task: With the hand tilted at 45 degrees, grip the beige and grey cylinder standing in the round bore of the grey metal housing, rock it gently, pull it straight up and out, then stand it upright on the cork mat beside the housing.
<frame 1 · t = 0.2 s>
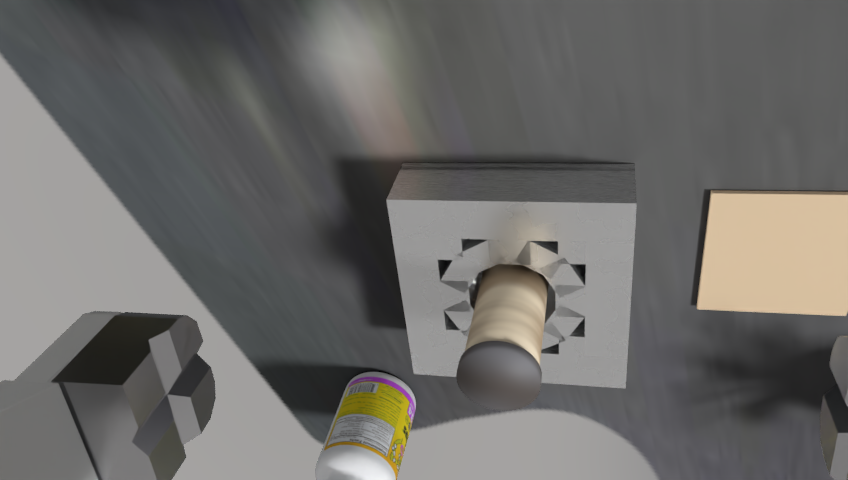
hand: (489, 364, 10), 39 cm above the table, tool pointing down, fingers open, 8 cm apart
cork mat: (779, 253, 52), on the table
supplement bottle: (382, 392, 69), on the table
beige and grey cylinder: (517, 264, 56), point 1 cm above the table, touching bore housing
bore housing: (519, 256, 57), on the table
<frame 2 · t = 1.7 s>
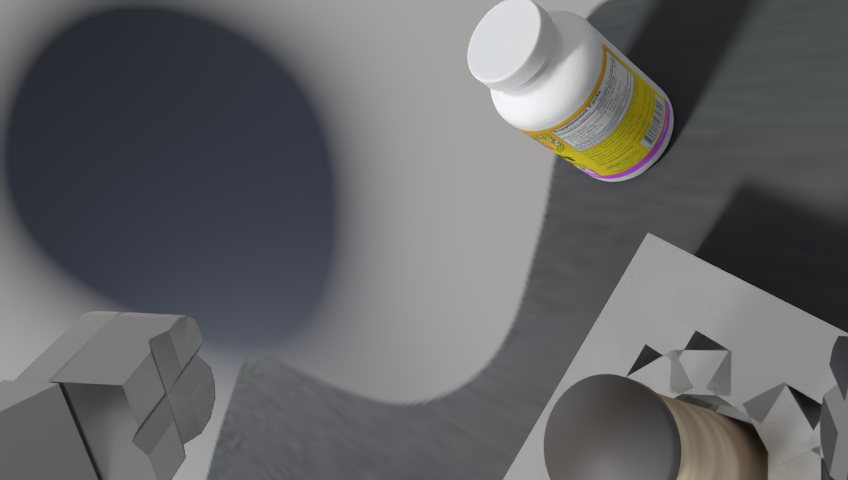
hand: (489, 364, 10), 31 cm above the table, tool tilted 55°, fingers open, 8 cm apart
supplement bottle: (628, 136, 47), on the table
beige and grey cylinder: (732, 470, 36), point 1 cm above the table, touching bore housing
bore housing: (740, 472, 36), on the table
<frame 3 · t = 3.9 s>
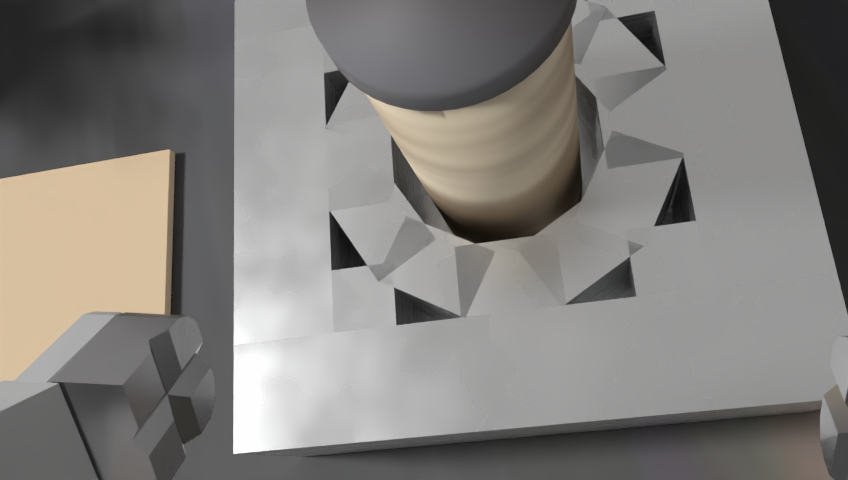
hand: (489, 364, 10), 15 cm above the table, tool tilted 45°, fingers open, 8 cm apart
cork mat: (54, 291, 29), on the table
beige and grey cylinder: (509, 188, 25), point 1 cm above the table, touching bore housing
bore housing: (512, 198, 26), on the table
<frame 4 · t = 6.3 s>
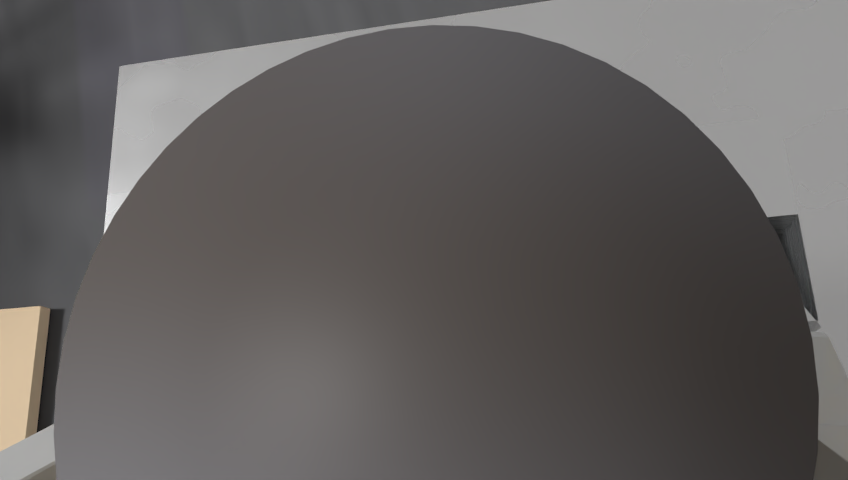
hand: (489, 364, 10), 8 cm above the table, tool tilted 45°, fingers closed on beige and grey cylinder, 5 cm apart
beige and grey cylinder: (529, 434, 16), point 1 cm above the table, touching bore housing, gripper
bore housing: (533, 436, 17), on the table
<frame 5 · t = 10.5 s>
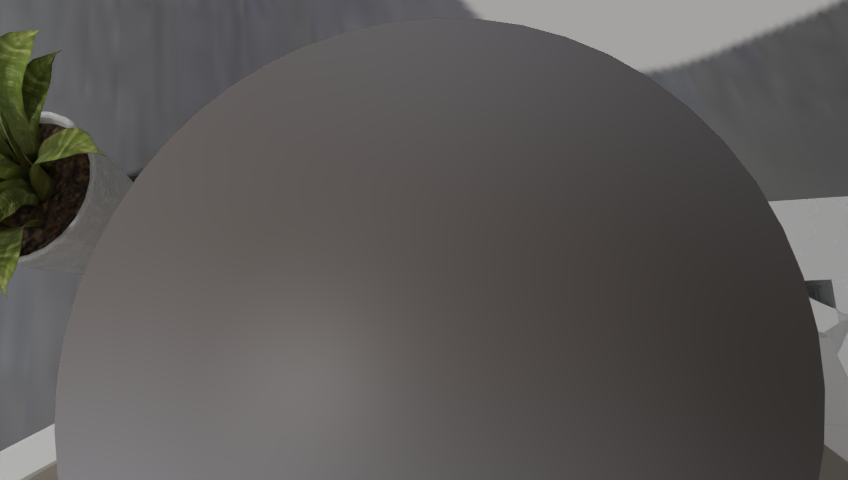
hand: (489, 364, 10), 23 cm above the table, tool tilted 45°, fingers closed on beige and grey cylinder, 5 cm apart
house plant: (107, 203, 39), on the table
beige and grey cylinder: (530, 431, 16), point 16 cm above the table, touching gripper
bore housing: (725, 433, 30), on the table
when the fingers open (9 cm above the table, at t = 14.4 s): beige and grey cylinder drops 1 cm, resting on cork mat.
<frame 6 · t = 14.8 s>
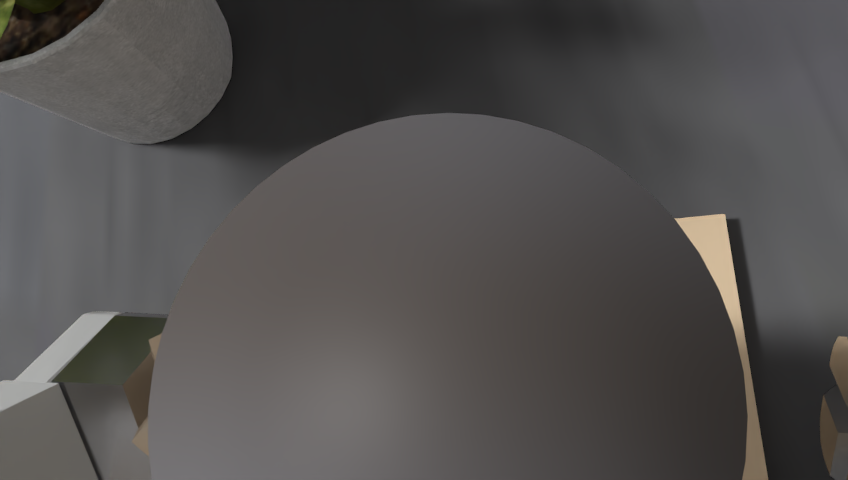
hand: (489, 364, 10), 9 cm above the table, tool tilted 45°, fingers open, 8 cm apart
cork mat: (535, 436, 18), on the table
house plant: (158, 34, 24), on the table
beige and grey cylinder: (532, 433, 18), resting on cork mat
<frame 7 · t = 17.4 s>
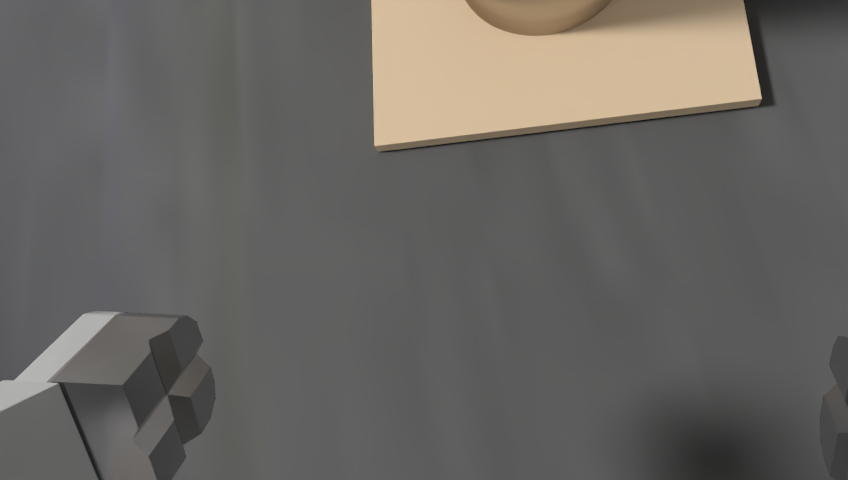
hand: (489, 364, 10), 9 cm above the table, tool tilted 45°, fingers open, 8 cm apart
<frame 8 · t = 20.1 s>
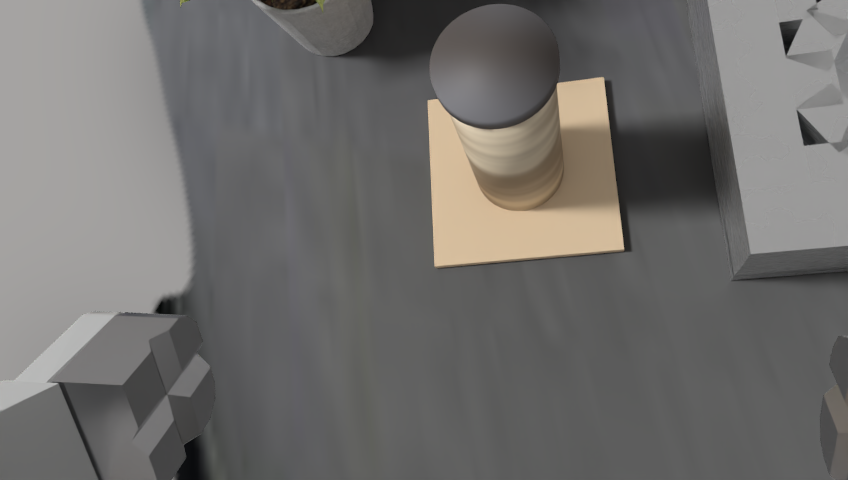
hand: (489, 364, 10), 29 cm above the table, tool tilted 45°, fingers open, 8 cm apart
cork mat: (520, 173, 42), on the table
house plant: (332, 3, 48), on the table
beige and grey cylinder: (519, 169, 41), resting on cork mat
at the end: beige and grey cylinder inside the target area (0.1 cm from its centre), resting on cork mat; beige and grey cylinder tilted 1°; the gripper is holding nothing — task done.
